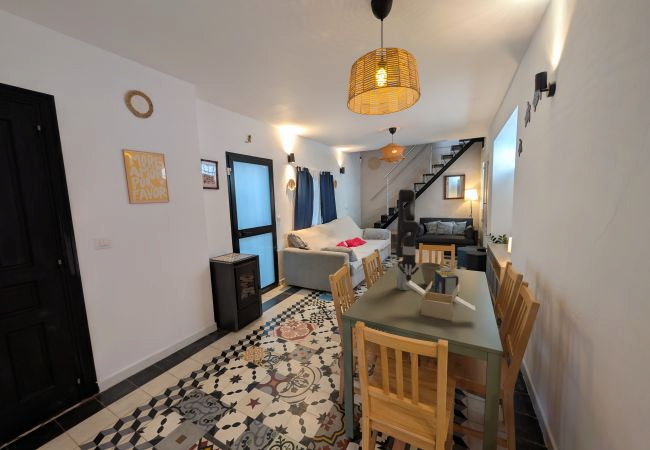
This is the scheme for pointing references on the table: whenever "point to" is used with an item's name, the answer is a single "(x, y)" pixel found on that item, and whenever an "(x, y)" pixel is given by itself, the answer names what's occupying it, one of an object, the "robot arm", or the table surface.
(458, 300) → the flap right
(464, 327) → the table surface
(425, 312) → the carton
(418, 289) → the flap left
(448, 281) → the protein box
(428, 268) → the plant pot
